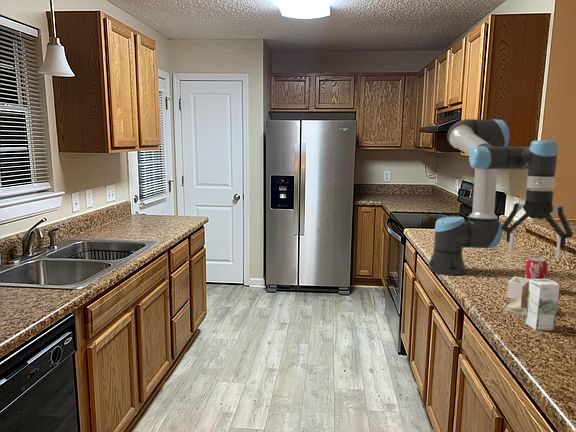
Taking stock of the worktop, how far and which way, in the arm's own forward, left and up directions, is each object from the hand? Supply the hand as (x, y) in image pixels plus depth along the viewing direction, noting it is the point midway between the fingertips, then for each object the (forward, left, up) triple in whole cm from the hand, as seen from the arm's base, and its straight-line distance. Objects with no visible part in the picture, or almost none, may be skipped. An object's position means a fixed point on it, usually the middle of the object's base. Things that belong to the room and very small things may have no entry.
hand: (533, 255), depth 145 cm
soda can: (-3, +26, -19) cm, 32 cm away
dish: (-4, +13, -19) cm, 23 cm away
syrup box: (+6, -14, -19) cm, 24 cm away
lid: (0, 0, -18) cm, 18 cm away
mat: (0, 0, -19) cm, 19 cm away
